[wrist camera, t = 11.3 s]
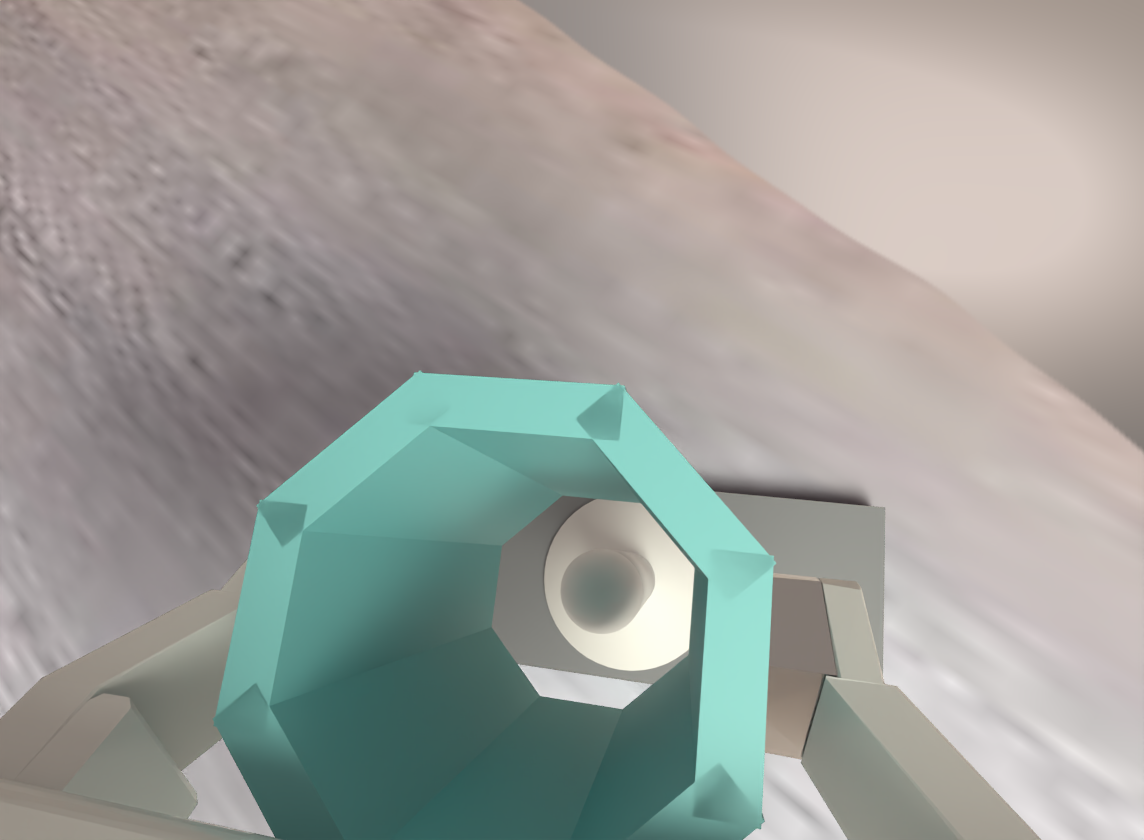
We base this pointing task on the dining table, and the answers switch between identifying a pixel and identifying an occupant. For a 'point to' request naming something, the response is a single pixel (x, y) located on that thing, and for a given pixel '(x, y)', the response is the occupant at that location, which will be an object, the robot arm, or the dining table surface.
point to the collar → (484, 634)
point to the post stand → (657, 578)
